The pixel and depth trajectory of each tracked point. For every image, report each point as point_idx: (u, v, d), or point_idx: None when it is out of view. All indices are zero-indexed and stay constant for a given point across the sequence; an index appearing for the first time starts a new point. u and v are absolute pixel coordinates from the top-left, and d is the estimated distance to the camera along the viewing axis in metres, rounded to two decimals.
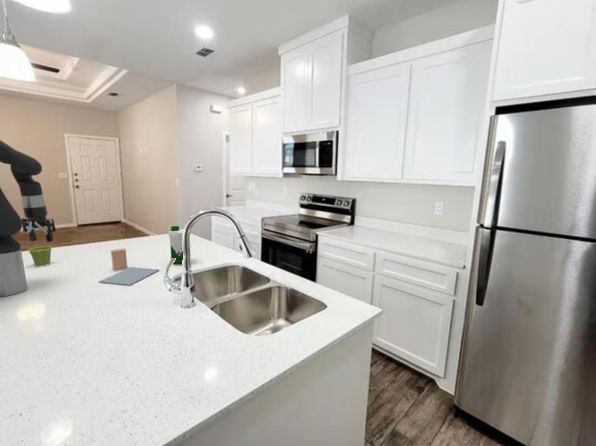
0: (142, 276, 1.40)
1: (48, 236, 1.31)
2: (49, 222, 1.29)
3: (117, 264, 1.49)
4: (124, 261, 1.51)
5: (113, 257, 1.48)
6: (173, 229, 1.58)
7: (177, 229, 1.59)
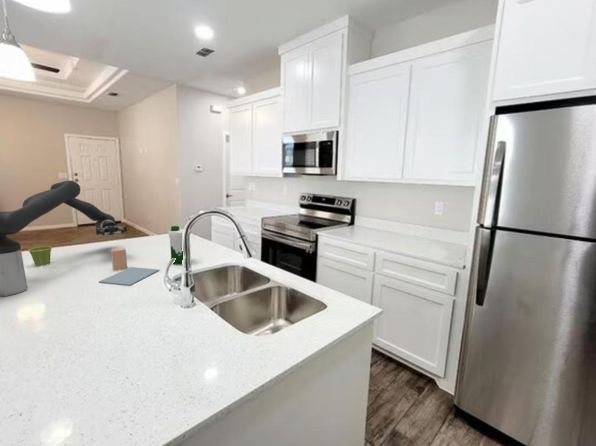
0: (142, 276, 1.40)
1: (123, 229, 1.62)
2: None
3: (117, 264, 1.49)
4: (124, 261, 1.51)
5: (113, 257, 1.48)
6: (173, 229, 1.58)
7: (177, 229, 1.59)
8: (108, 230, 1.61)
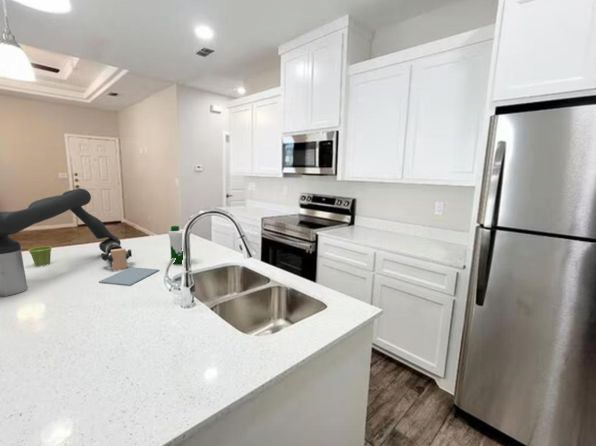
0: (142, 276, 1.40)
1: (127, 254, 1.53)
2: None
3: (117, 264, 1.49)
4: (124, 261, 1.51)
5: (113, 257, 1.48)
6: (173, 229, 1.58)
7: (177, 229, 1.59)
8: None
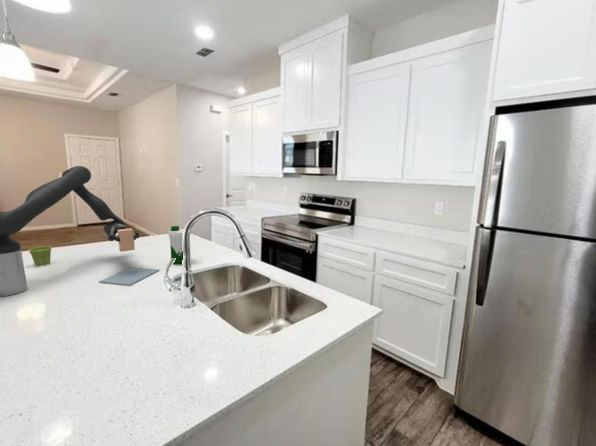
0: (142, 276, 1.40)
1: (135, 235, 1.45)
2: (138, 232, 1.51)
3: (124, 245, 1.41)
4: (132, 242, 1.43)
5: (120, 237, 1.39)
6: (173, 229, 1.58)
7: (177, 229, 1.59)
8: None
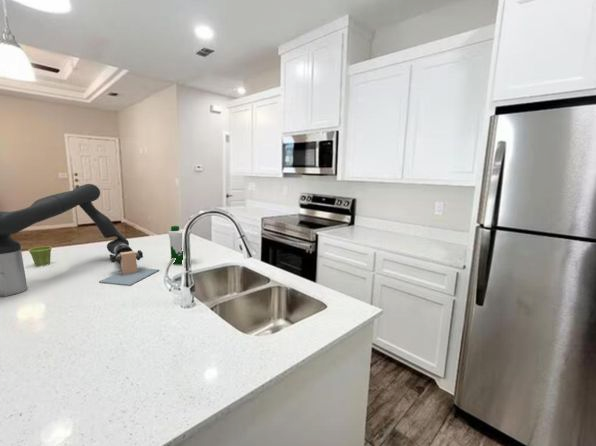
0: (142, 276, 1.40)
1: (138, 255, 1.47)
2: None
3: (127, 268, 1.42)
4: (134, 264, 1.44)
5: (123, 260, 1.41)
6: (173, 229, 1.58)
7: (177, 229, 1.59)
8: None
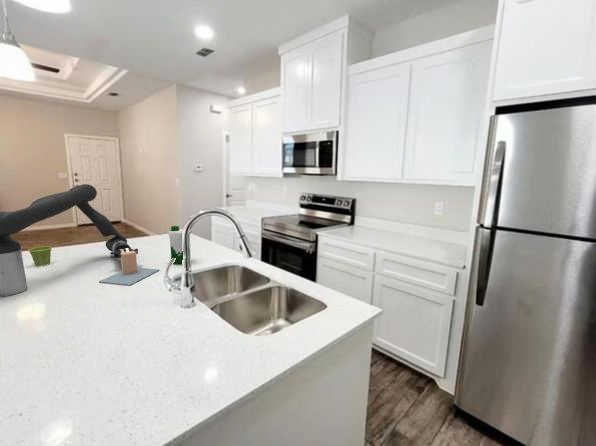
0: (142, 276, 1.40)
1: None
2: (136, 250, 1.54)
3: (127, 268, 1.42)
4: (134, 264, 1.44)
5: (123, 260, 1.41)
6: (173, 229, 1.58)
7: (177, 229, 1.59)
8: None
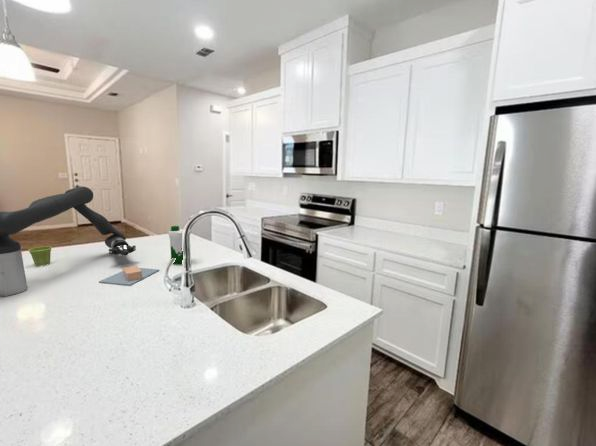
0: (142, 276, 1.40)
1: (126, 250, 1.53)
2: (134, 247, 1.59)
3: None
4: None
5: None
6: (173, 229, 1.58)
7: (177, 229, 1.59)
8: (123, 249, 1.56)
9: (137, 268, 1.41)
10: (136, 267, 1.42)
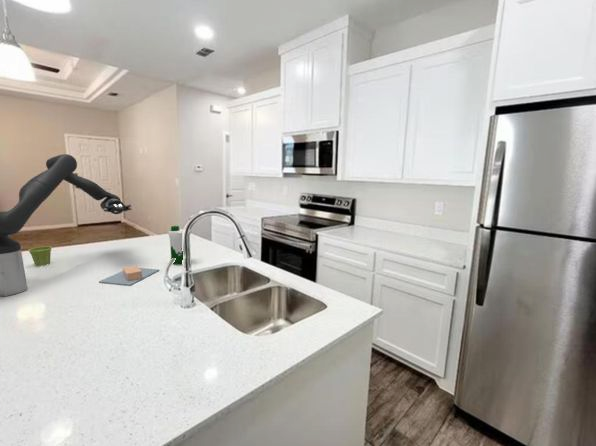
0: (142, 276, 1.40)
1: (121, 207, 1.50)
2: (130, 206, 1.56)
3: None
4: None
5: None
6: (173, 229, 1.58)
7: (177, 229, 1.59)
8: None
9: (137, 268, 1.41)
10: (136, 267, 1.42)
